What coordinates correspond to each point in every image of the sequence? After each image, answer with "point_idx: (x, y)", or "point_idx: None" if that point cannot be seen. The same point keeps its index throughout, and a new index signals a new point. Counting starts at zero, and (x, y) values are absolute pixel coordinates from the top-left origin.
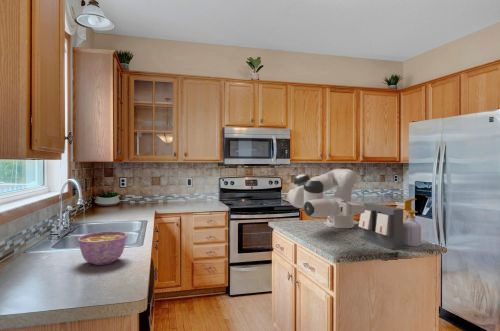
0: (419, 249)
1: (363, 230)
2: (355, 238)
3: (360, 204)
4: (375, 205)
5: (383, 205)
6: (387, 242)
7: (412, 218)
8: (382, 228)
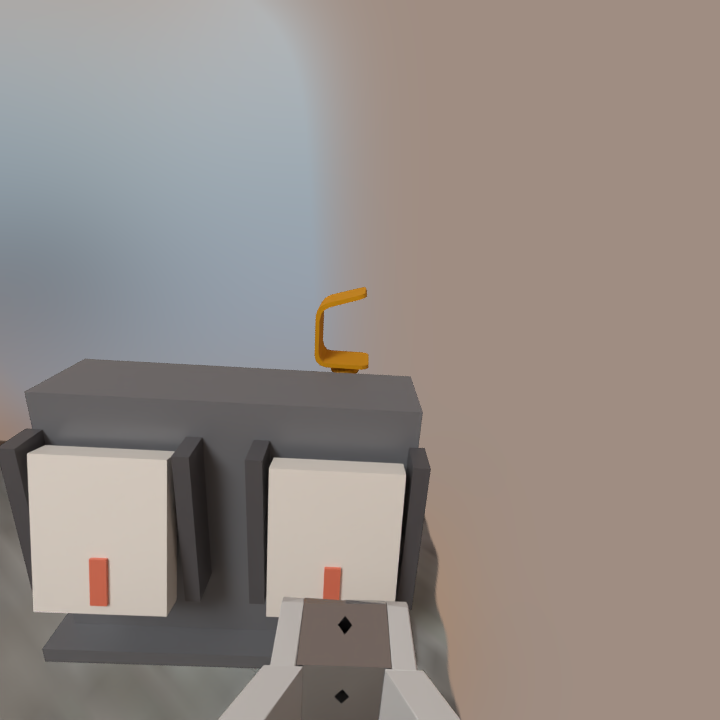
0: (422, 533)
1: None
2: (16, 699)
3: (413, 646)
4: (178, 390)
5: (219, 368)
6: None
7: None
8: (348, 580)
